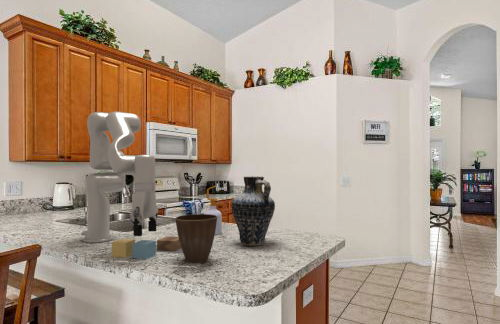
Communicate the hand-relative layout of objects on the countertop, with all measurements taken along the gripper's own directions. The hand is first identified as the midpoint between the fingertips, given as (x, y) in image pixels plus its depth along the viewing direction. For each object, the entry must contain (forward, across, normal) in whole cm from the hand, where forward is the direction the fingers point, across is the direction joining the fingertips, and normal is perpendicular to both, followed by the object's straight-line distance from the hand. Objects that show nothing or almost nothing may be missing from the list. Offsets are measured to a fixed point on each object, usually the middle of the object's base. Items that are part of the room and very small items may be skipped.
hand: (145, 233), depth 121 cm
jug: (+10, -31, +34) cm, 48 cm away
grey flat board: (+9, -13, +3) cm, 16 cm away
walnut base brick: (+8, -13, +3) cm, 16 cm away
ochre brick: (+9, 0, -10) cm, 13 cm away
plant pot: (+10, 0, +20) cm, 23 cm away
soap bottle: (+9, -49, +8) cm, 51 cm away
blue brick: (+9, 0, -1) cm, 9 cm away
